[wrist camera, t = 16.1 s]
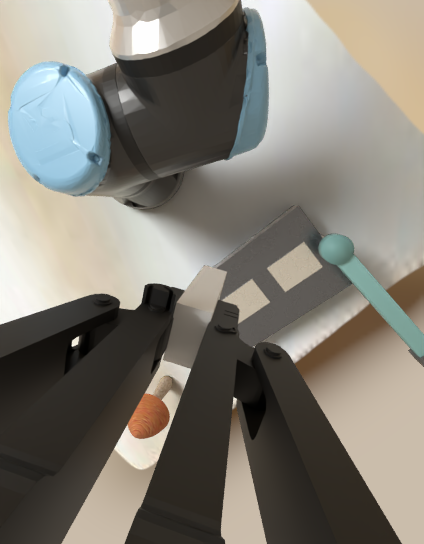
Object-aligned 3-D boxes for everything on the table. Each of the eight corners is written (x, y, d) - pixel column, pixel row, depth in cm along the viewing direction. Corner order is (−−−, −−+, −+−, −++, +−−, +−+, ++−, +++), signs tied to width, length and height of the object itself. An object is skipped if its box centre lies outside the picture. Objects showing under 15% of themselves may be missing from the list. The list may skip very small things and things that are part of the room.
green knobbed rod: (311, 246, 39) (316, 249, 36) (334, 227, 38) (341, 229, 35) (413, 361, 41) (425, 372, 38) (438, 346, 40) (451, 356, 37)
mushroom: (145, 361, 57) (109, 414, 43) (181, 361, 56) (156, 416, 41) (150, 394, 59) (117, 455, 44) (185, 394, 58) (163, 457, 43)
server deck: (195, 280, 51) (186, 293, 43) (298, 201, 45) (308, 201, 37) (243, 339, 52) (242, 361, 45) (349, 270, 46) (368, 283, 39)
